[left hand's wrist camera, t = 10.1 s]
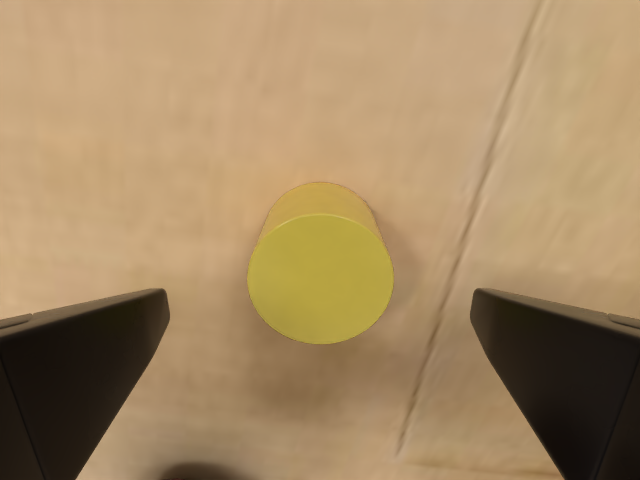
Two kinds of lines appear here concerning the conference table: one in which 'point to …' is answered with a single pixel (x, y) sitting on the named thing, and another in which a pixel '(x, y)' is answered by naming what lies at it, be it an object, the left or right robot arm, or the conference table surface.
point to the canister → (320, 266)
